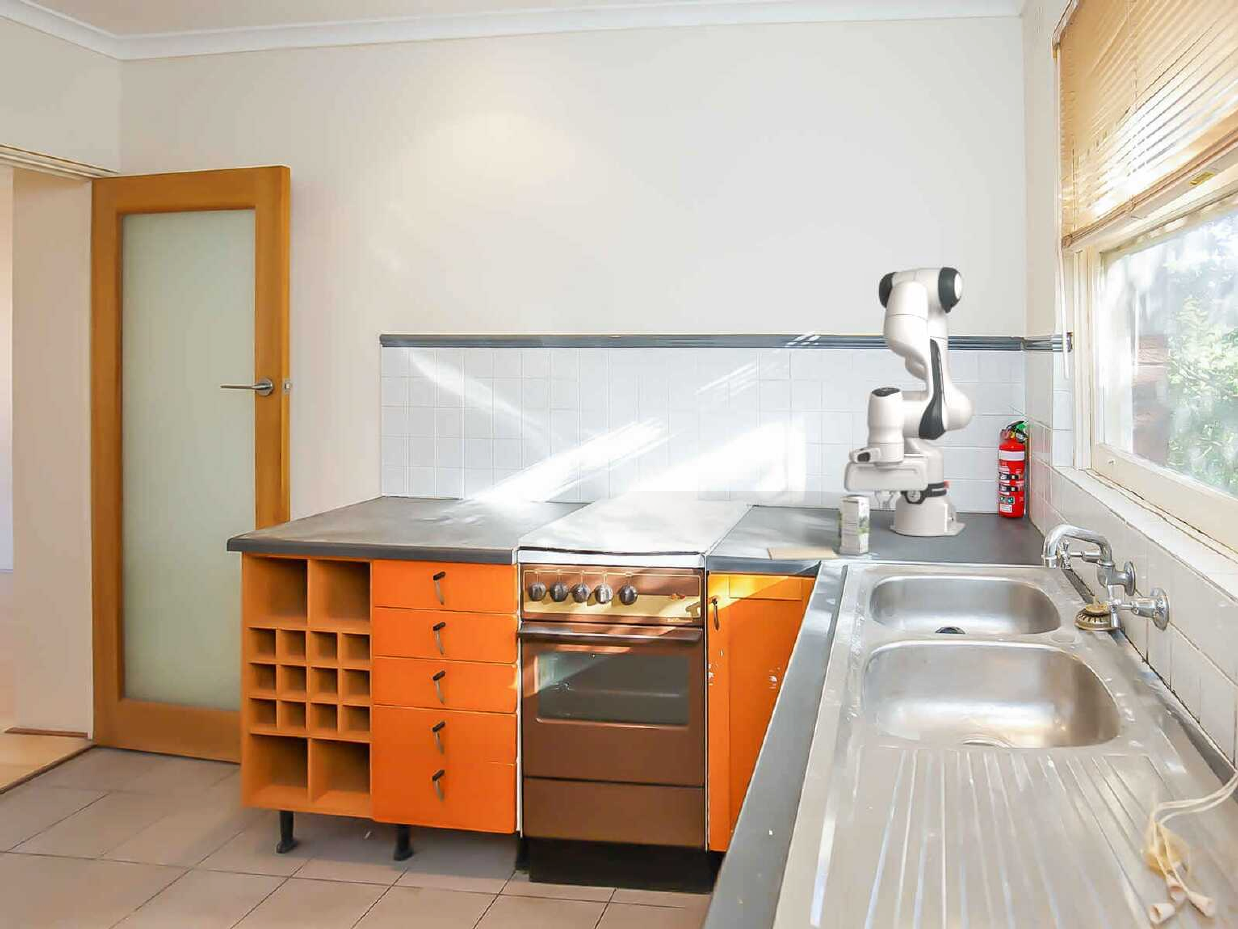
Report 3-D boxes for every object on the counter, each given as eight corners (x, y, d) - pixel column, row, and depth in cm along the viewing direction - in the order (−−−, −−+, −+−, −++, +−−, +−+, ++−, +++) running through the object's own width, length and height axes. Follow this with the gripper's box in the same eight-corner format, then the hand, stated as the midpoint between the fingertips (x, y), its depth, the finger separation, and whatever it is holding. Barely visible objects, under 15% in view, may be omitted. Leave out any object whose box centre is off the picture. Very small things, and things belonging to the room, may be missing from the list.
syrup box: (848, 550, 270) (848, 493, 269) (869, 552, 267) (870, 495, 265) (837, 554, 266) (837, 496, 264) (859, 556, 262) (859, 498, 261)
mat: (830, 548, 274) (830, 546, 273) (838, 559, 260) (838, 557, 260) (767, 548, 274) (767, 547, 274) (772, 559, 261) (772, 558, 261)
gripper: (925, 451, 265) (924, 506, 267) (842, 453, 267) (842, 507, 268) (931, 454, 259) (930, 510, 261) (846, 455, 260) (846, 511, 262)
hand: (885, 508), depth 264 cm, fingers closed
